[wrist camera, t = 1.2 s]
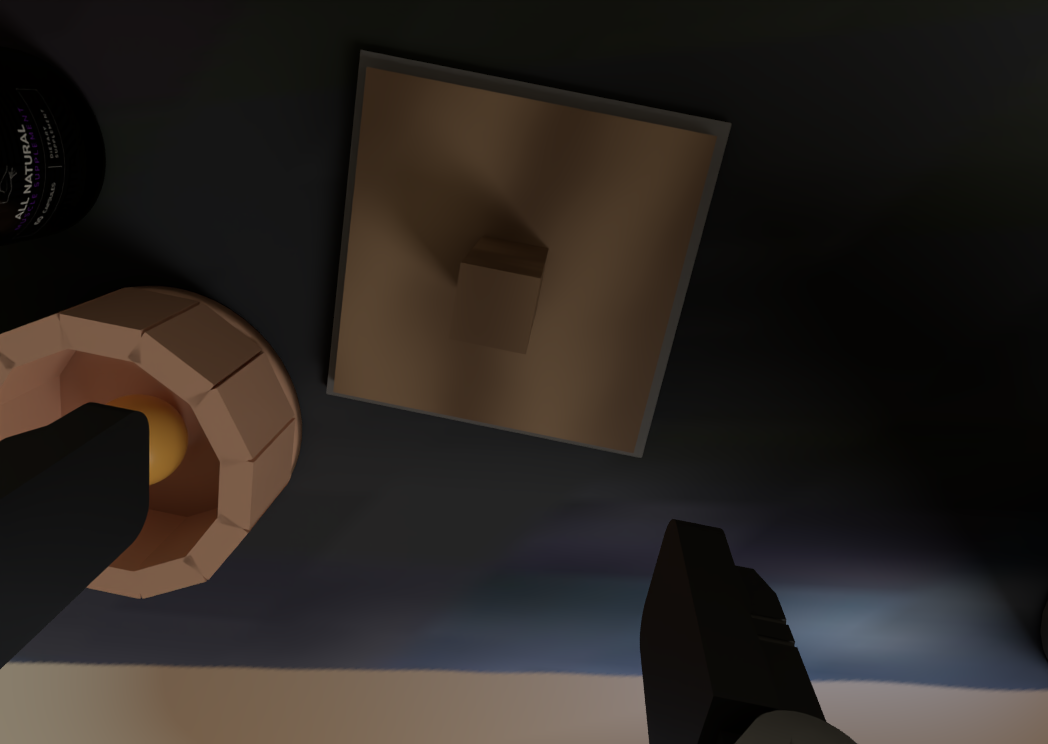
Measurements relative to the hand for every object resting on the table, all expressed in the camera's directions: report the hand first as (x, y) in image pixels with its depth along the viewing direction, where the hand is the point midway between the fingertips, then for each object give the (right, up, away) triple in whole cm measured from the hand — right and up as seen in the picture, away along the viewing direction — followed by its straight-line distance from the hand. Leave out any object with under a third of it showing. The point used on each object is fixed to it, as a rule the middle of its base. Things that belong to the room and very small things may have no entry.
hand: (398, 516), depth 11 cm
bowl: (-13, 0, +20) cm, 24 cm away
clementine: (-13, 0, +19) cm, 23 cm away
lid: (+1, +6, +16) cm, 17 cm away
